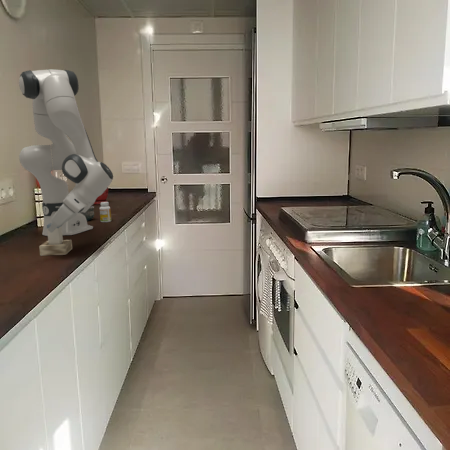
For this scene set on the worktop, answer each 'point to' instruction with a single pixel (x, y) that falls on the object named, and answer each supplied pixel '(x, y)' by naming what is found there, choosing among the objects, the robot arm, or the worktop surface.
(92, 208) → the mug
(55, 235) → the peg
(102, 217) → the supplement bottle
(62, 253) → the holder
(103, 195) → the plant pot
